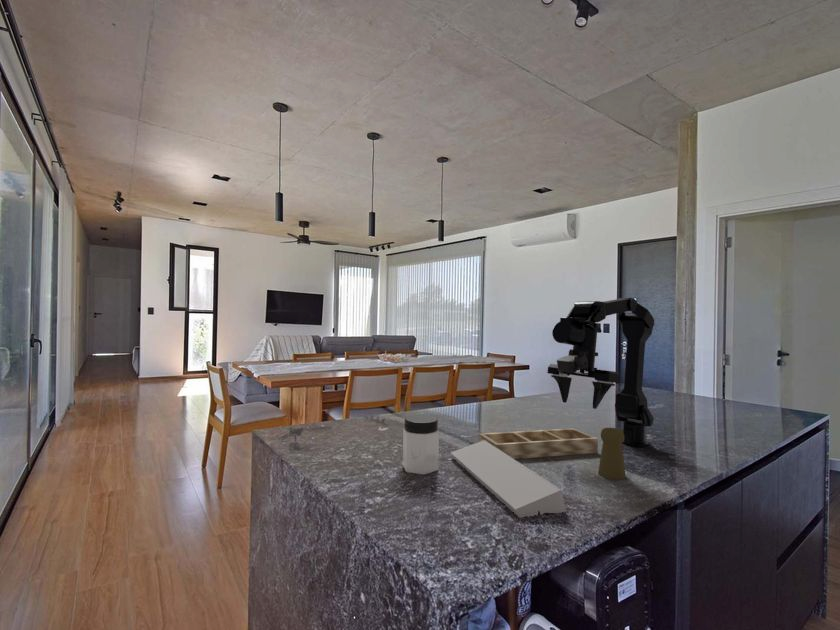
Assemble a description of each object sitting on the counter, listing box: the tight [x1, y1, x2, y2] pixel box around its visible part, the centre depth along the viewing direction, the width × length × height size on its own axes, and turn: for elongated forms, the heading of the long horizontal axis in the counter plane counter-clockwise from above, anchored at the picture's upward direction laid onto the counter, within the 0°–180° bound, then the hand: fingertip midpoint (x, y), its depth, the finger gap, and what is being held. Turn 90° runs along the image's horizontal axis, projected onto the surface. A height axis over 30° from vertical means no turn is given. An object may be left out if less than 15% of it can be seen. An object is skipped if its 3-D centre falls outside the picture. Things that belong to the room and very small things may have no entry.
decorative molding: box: [450, 440, 567, 519], centre depth 95 cm, size 34×5×10 cm
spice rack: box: [478, 428, 599, 460], centre depth 119 cm, size 31×11×4 cm, turn 106°
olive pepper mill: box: [597, 427, 627, 481], centre depth 101 cm, size 6×6×11 cm
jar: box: [402, 414, 440, 476], centre depth 102 cm, size 9×8×12 cm
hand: (579, 405), depth 113 cm, fingers open, 9 cm apart
